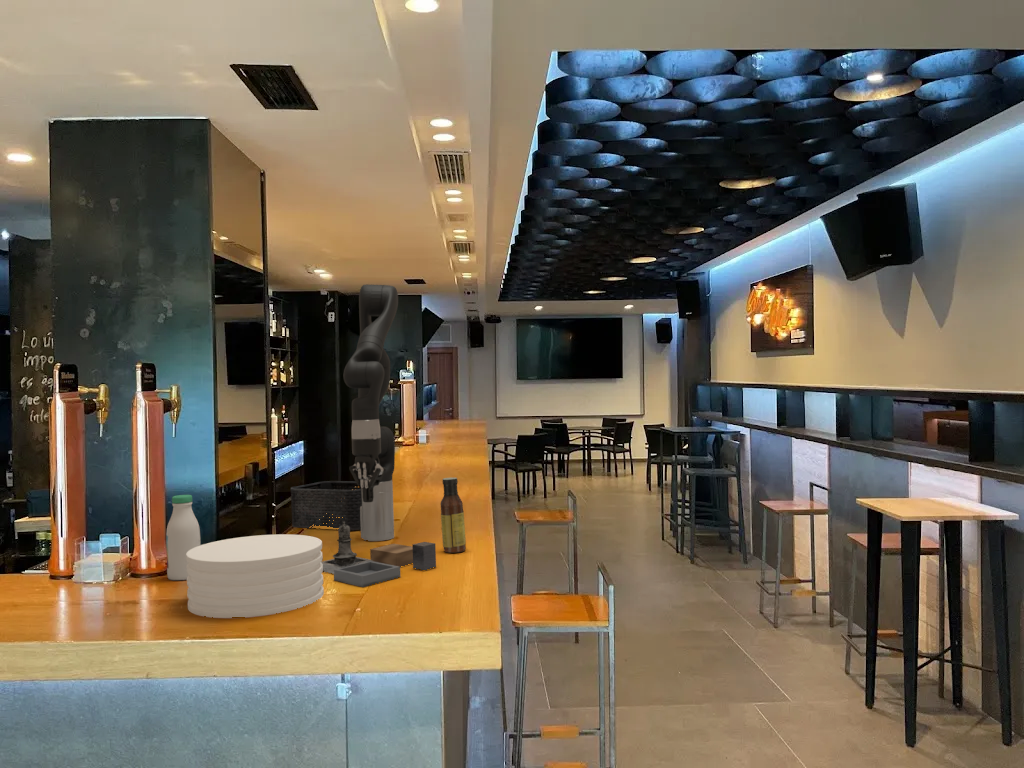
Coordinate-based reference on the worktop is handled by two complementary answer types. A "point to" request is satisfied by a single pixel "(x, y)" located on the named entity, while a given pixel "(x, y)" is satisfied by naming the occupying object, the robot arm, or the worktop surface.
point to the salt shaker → (344, 547)
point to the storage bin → (327, 504)
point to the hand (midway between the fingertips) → (368, 501)
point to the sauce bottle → (452, 518)
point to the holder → (331, 565)
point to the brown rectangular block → (393, 554)
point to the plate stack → (254, 575)
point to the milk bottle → (181, 536)
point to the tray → (366, 573)
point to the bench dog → (424, 555)
